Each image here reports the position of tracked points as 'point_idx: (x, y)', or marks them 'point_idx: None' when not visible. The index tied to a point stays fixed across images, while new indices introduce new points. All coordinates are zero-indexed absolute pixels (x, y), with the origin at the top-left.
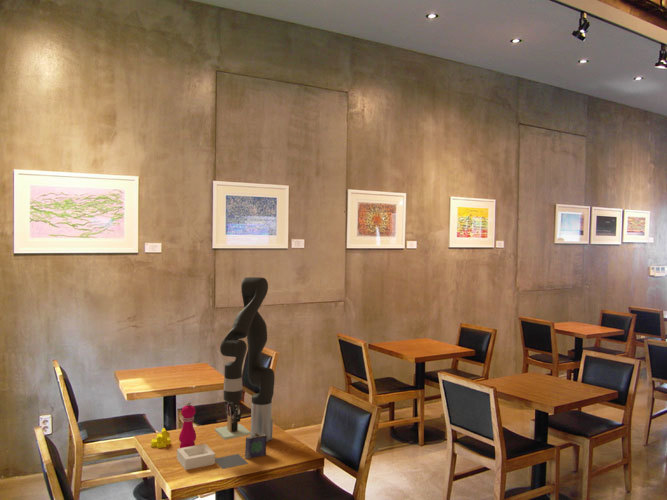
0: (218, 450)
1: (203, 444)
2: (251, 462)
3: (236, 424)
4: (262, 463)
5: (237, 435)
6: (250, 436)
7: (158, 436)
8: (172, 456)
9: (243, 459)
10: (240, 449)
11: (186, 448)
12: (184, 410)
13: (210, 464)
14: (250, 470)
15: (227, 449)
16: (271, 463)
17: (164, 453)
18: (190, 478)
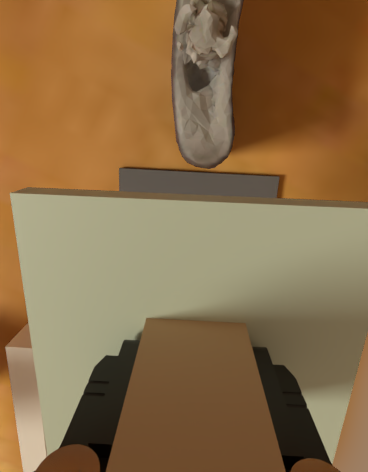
0: (14, 237)
1: (15, 360)
2: (262, 146)
3: (318, 447)
4: (316, 91)
5: (352, 365)
6: (187, 106)
7: None
8: (7, 425)
9: (212, 177)
10: (48, 118)
11: (37, 442)
12: None
13: None
14: (353, 200)
15: (18, 188)
16: (354, 34)
17: None
18: None
